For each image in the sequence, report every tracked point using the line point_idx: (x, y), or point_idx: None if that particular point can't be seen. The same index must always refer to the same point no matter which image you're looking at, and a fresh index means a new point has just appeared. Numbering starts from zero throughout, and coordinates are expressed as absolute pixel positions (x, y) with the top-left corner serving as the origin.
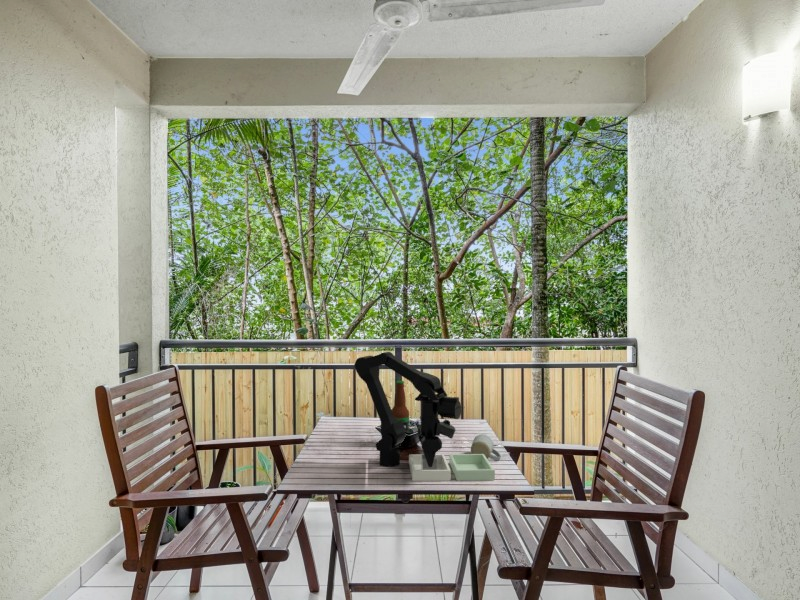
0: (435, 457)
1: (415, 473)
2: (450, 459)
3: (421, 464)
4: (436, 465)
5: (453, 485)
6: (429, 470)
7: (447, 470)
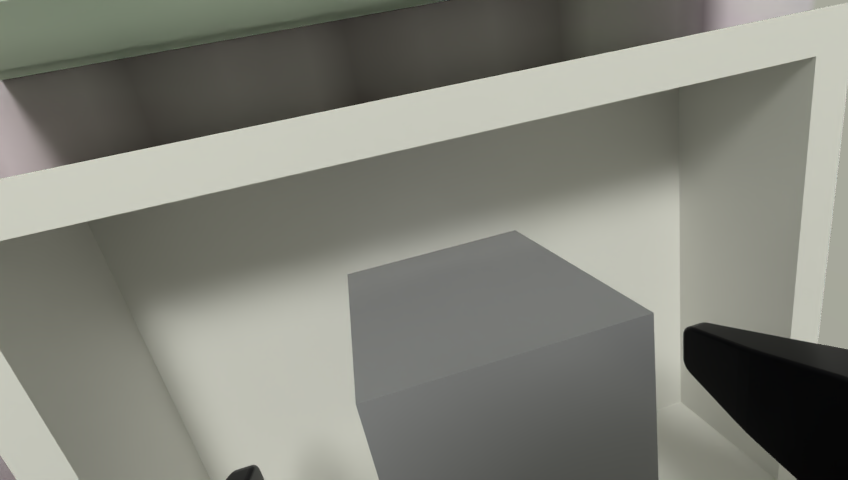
0: (564, 353)
1: None
2: (25, 26)
3: (208, 459)
4: (573, 267)
5: (736, 6)
6: (812, 326)
7: (845, 62)
